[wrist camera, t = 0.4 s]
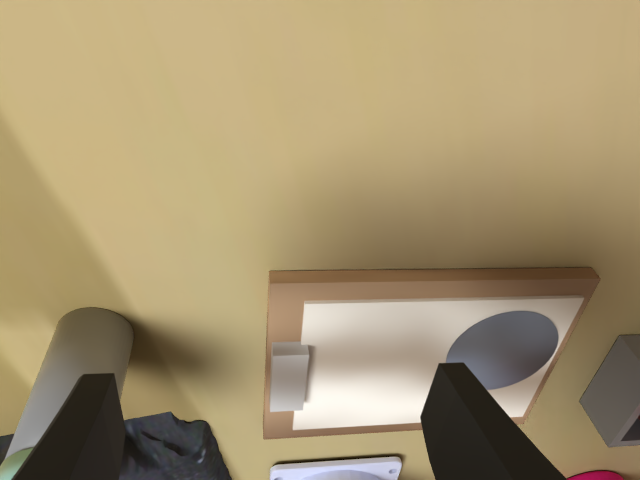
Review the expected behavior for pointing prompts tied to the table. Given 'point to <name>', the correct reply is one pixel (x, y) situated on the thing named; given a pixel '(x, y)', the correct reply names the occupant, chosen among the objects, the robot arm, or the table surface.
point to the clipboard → (409, 342)
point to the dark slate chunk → (164, 450)
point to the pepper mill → (597, 476)
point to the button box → (617, 394)
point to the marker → (70, 373)
